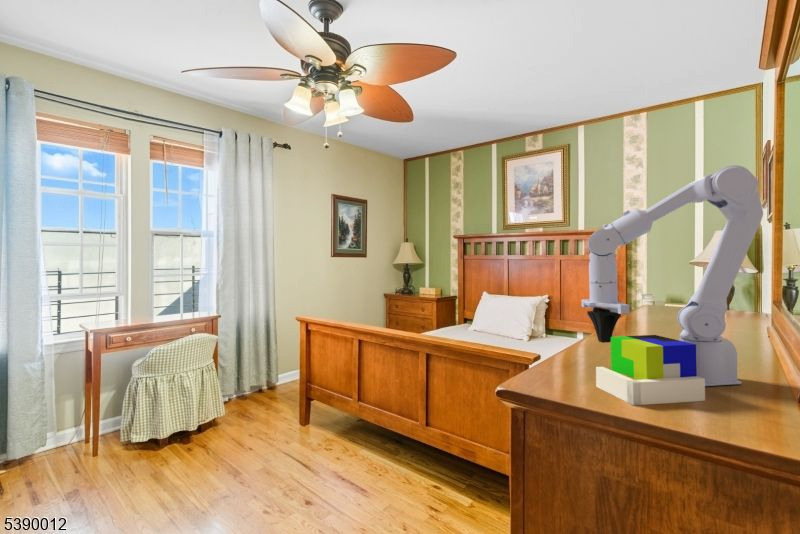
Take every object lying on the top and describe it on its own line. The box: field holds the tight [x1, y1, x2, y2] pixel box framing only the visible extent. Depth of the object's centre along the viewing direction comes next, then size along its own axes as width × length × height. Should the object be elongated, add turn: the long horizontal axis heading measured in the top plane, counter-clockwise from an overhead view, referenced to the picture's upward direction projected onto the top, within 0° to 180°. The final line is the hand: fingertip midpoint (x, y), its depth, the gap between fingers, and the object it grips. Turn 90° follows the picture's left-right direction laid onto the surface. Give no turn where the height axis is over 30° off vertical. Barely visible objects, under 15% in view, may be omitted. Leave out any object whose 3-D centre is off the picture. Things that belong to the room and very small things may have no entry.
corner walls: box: [595, 366, 706, 406], centre depth 76 cm, size 14×11×4 cm
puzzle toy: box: [610, 334, 697, 380], centre depth 77 cm, size 10×10×10 cm
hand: (604, 341), depth 90 cm, fingers closed
